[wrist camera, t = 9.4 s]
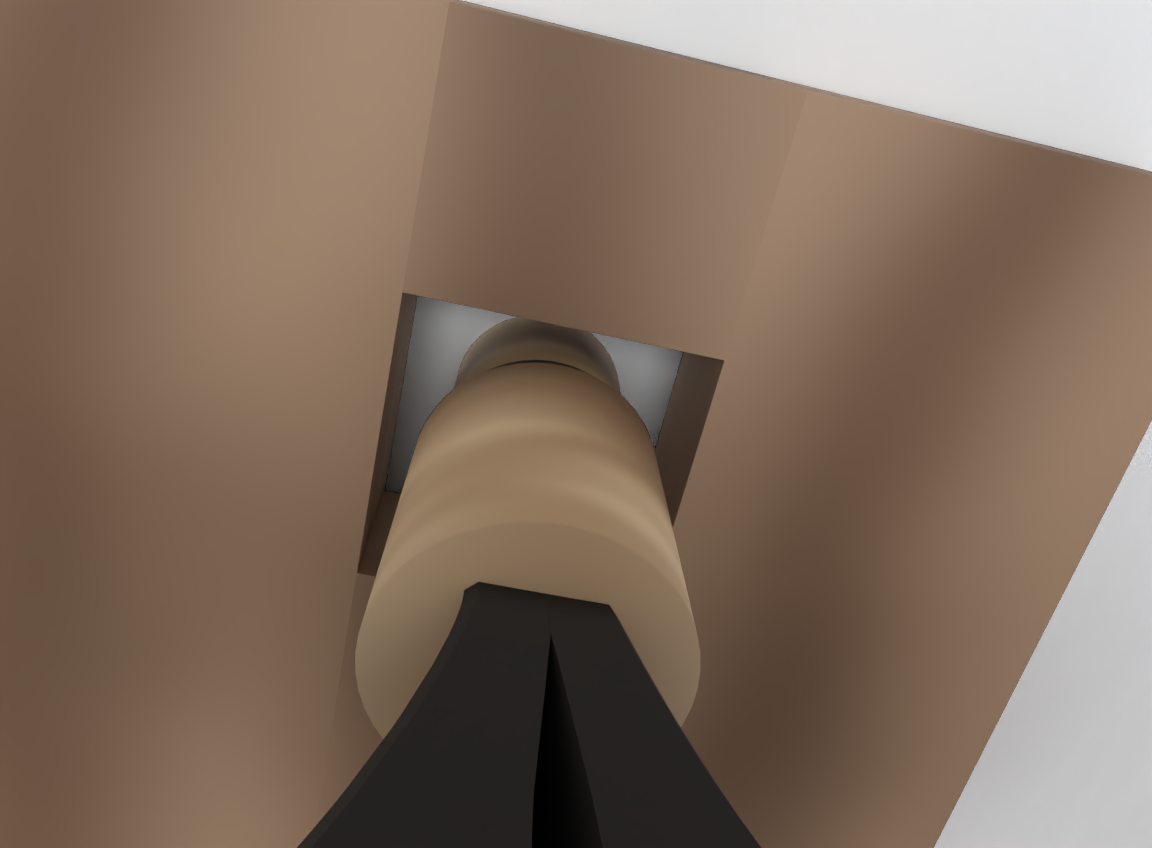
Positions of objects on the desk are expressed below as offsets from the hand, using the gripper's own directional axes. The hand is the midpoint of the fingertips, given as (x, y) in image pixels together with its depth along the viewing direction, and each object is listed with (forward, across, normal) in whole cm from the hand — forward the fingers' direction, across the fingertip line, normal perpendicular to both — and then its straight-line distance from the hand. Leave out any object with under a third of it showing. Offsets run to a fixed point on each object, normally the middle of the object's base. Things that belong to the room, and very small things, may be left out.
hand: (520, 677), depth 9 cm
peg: (+7, 0, 0) cm, 7 cm away
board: (+7, +1, +2) cm, 7 cm away
